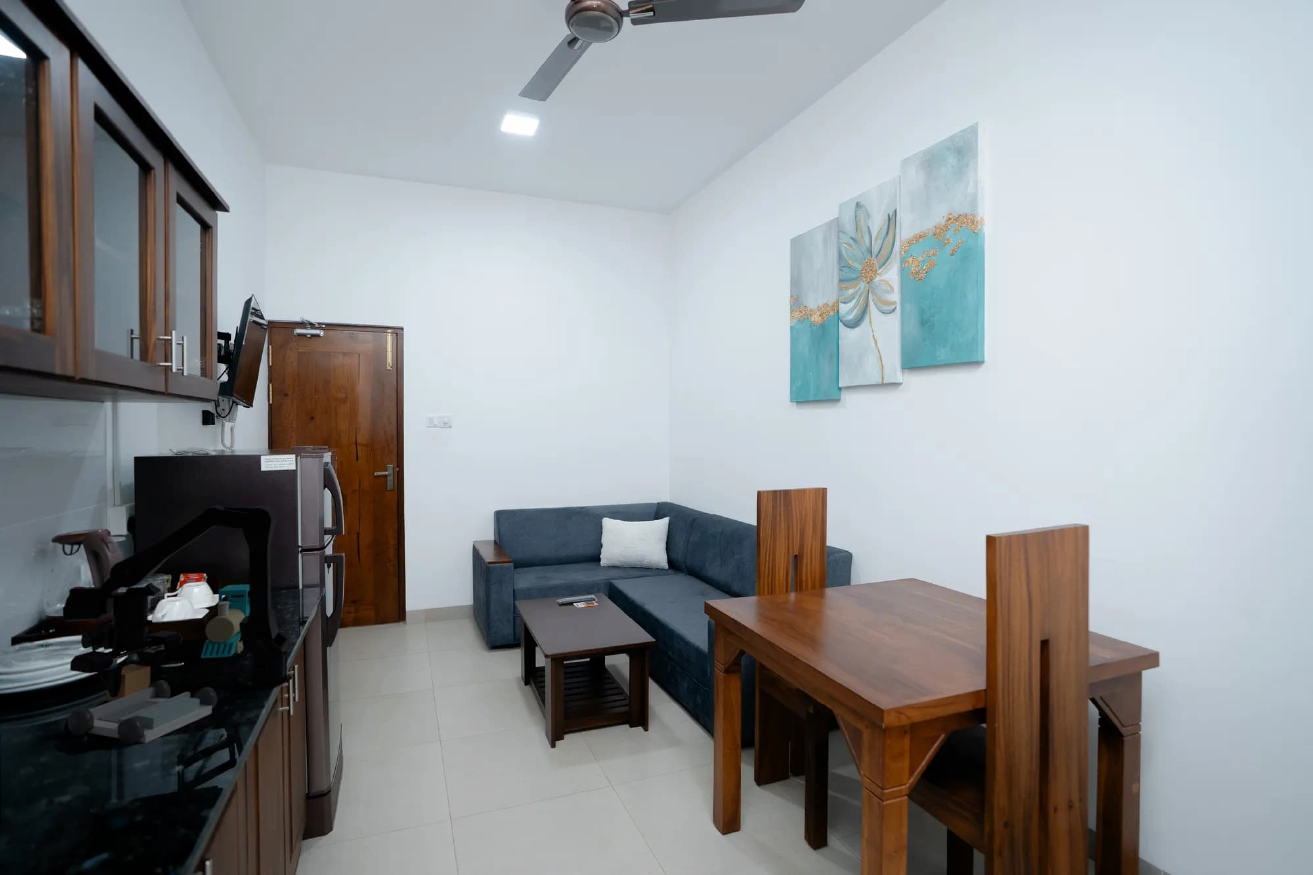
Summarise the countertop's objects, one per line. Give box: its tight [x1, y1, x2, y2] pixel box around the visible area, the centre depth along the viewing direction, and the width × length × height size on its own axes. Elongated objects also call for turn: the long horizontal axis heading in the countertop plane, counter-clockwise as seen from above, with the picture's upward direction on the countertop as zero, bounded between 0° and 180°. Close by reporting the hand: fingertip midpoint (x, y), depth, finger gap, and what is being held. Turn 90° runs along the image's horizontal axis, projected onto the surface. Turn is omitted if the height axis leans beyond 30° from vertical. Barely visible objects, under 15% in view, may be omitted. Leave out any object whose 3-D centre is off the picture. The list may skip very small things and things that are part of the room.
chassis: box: [67, 679, 218, 746], centre depth 123 cm, size 16×17×4 cm
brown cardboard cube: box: [106, 663, 151, 702], centre depth 134 cm, size 5×5×6 cm
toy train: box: [200, 584, 250, 659], centre depth 164 cm, size 8×17×15 cm, turn 15°
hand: (128, 691), depth 134 cm, fingers open, 6 cm apart
